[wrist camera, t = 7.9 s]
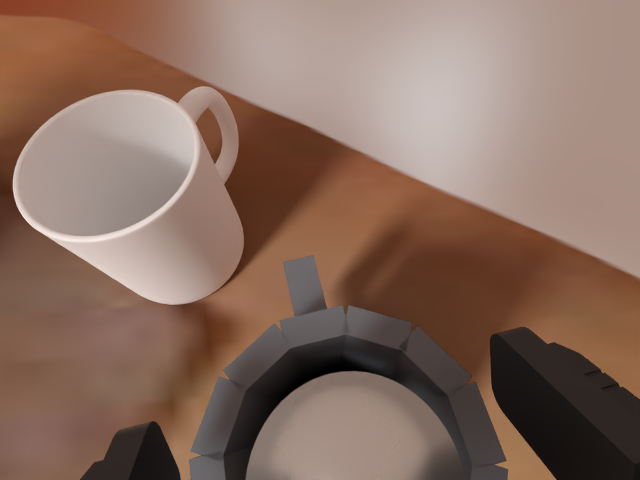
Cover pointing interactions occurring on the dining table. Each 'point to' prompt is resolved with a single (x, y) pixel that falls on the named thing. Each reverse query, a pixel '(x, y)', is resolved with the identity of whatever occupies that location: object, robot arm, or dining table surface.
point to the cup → (137, 191)
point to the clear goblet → (353, 434)
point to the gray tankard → (331, 357)
